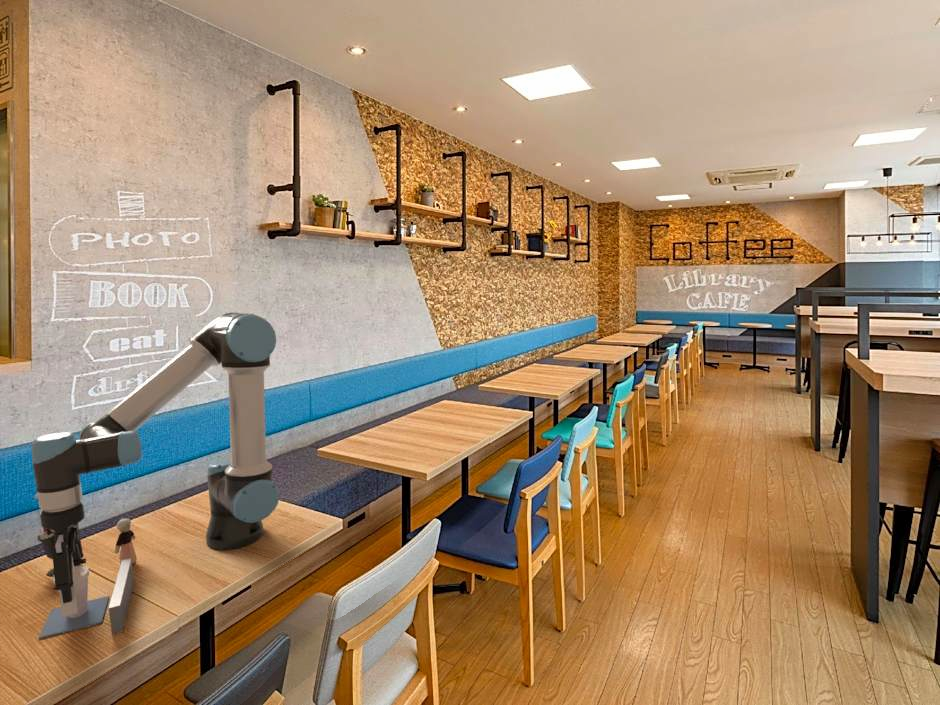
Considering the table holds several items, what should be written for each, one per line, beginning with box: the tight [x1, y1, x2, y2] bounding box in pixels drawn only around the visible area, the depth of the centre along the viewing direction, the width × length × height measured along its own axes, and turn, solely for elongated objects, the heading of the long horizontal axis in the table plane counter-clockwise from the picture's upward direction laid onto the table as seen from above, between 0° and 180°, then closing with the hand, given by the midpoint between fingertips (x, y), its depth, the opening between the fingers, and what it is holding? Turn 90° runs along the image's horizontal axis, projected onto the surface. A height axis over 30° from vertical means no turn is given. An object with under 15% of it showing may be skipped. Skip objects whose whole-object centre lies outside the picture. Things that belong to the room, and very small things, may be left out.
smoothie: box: [53, 557, 90, 618], centre depth 120 cm, size 6×6×14 cm
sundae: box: [36, 527, 55, 576], centre depth 140 cm, size 7×7×15 cm
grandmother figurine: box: [114, 518, 138, 569], centre depth 142 cm, size 8×4×13 cm, turn 12°
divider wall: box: [108, 559, 135, 635], centre depth 124 cm, size 2×22×6 cm, turn 26°
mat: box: [38, 595, 110, 640], centre depth 121 cm, size 11×11×1 cm
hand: (74, 603), depth 121 cm, fingers open, 8 cm apart
